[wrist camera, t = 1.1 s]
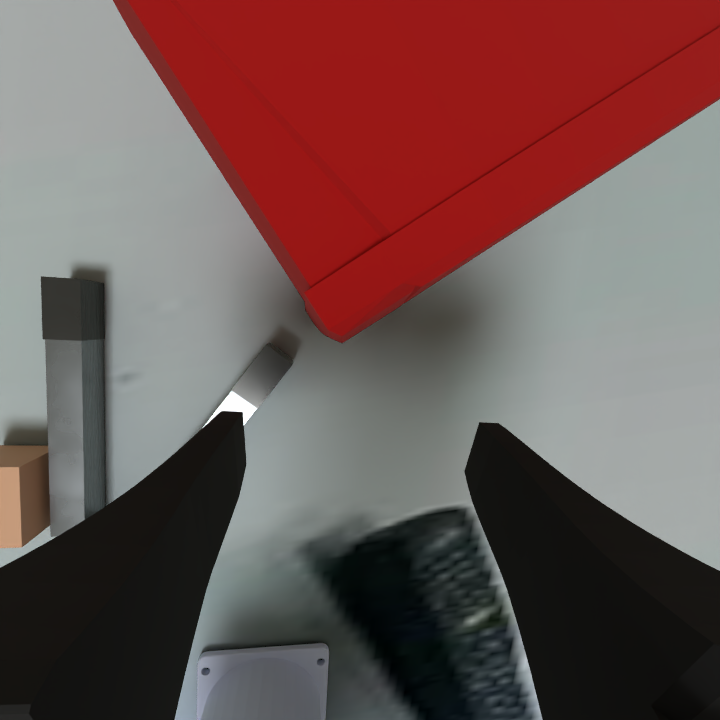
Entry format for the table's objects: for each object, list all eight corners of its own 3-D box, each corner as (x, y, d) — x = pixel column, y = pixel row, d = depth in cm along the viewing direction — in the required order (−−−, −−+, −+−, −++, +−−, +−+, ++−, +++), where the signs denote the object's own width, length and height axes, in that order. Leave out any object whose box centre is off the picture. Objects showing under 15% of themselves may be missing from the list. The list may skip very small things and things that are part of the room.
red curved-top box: (320, 333, 22) (350, 361, 7) (213, 168, 20) (-47, -256, 5) (539, 193, 23) (961, -37, 8) (455, 24, 21) (803, -668, 6)
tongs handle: (106, 515, 21) (84, 536, 19) (73, 516, 21) (48, 537, 19) (103, 283, 20) (80, 279, 18) (69, 281, 20) (41, 276, 17)
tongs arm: (122, 579, 21) (102, 609, 19) (75, 553, 21) (48, 580, 19) (293, 360, 21) (292, 364, 19) (250, 327, 21) (244, 328, 19)
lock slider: (62, 514, 21) (21, 547, 18) (2, 515, 20) (-51, 549, 17) (61, 445, 20) (18, 467, 17) (-1, 445, 20) (-56, 467, 17)
